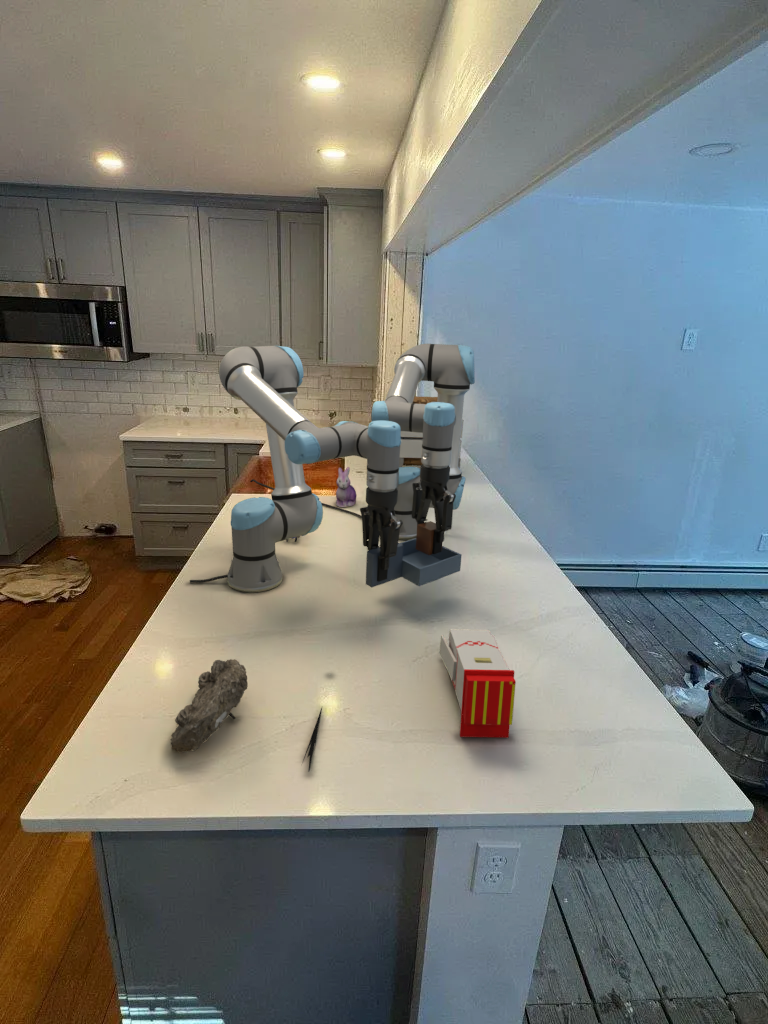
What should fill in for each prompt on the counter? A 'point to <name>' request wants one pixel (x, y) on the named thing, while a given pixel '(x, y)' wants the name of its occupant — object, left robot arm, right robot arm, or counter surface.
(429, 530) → the block
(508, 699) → the toy
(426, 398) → the grey slatted box
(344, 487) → the figurine
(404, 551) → the tray
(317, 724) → the feather
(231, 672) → the fossil
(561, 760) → the counter surface
